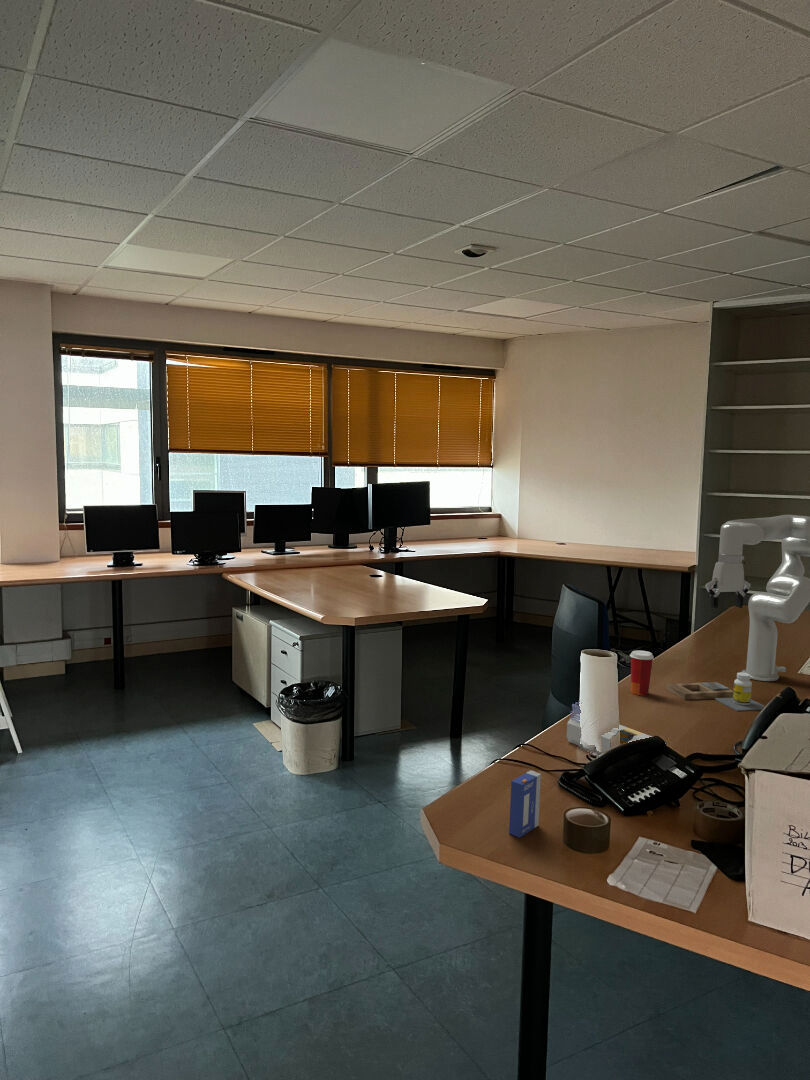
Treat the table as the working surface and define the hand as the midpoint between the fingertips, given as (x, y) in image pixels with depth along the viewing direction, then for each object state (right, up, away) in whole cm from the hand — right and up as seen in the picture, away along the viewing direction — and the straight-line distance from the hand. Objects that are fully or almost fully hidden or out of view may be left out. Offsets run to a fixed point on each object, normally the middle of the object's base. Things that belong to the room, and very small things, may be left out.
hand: (726, 607), depth 274 cm
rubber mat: (-2, -30, -17) cm, 35 cm away
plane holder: (-12, -29, -7) cm, 32 cm away
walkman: (-88, -39, -107) cm, 144 cm away
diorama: (-56, -35, -62) cm, 91 cm away
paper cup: (-33, -29, -8) cm, 45 cm away
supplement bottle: (-2, -30, -17) cm, 35 cm away
